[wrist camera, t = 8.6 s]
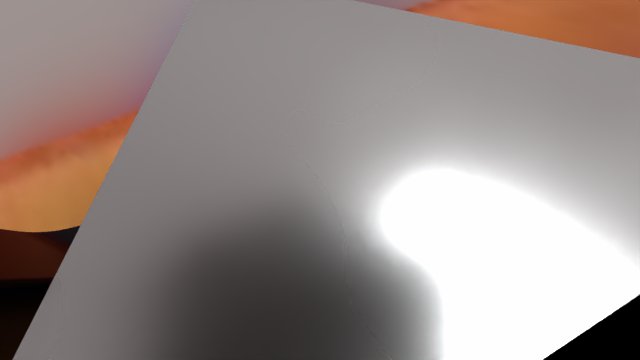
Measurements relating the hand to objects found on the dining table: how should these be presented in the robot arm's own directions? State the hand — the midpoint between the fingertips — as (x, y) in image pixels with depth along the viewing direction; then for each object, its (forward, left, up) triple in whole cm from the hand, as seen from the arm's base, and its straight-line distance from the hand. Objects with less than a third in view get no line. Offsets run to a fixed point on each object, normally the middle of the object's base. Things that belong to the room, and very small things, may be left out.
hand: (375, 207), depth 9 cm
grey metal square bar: (-1, -1, -7) cm, 7 cm away
